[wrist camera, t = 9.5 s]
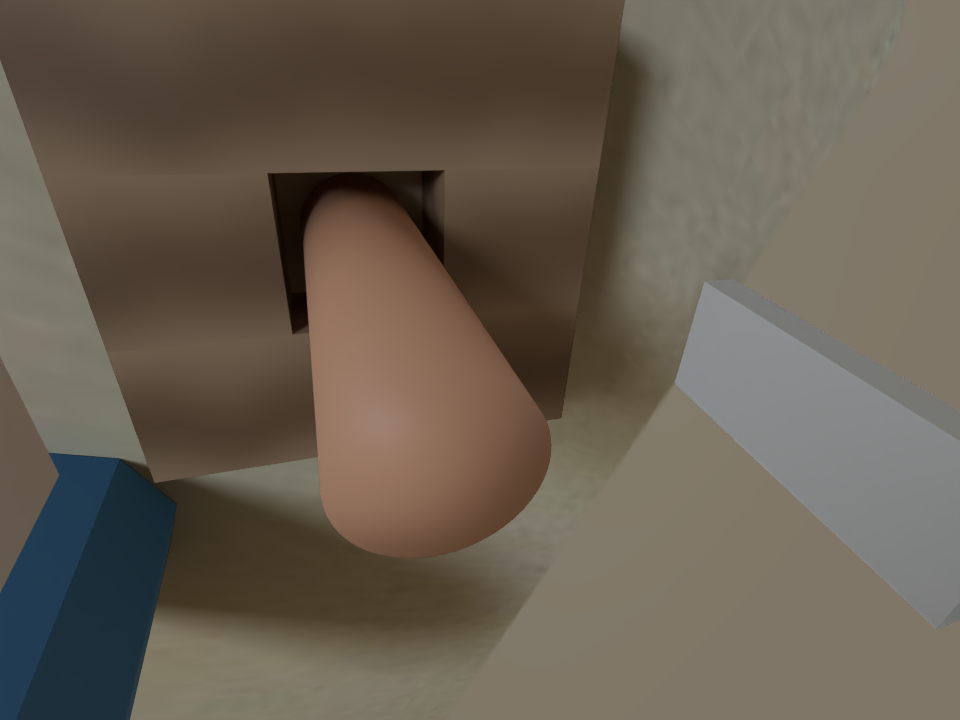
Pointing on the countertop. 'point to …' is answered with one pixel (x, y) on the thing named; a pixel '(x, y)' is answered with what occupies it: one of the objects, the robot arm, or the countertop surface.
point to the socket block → (305, 183)
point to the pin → (407, 385)
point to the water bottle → (84, 594)
